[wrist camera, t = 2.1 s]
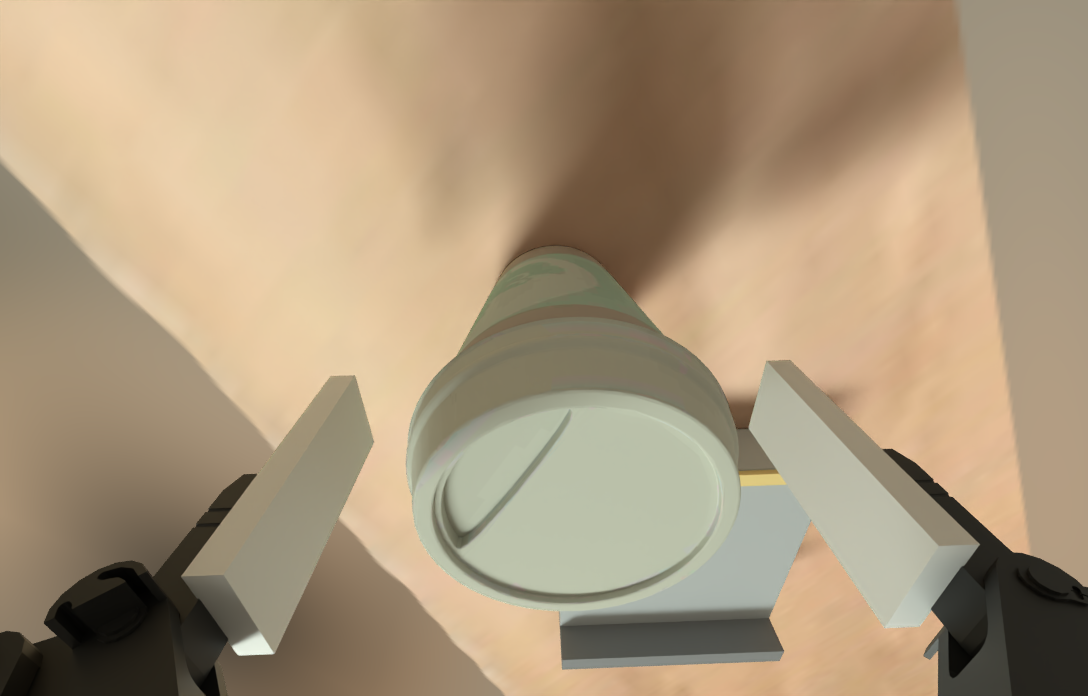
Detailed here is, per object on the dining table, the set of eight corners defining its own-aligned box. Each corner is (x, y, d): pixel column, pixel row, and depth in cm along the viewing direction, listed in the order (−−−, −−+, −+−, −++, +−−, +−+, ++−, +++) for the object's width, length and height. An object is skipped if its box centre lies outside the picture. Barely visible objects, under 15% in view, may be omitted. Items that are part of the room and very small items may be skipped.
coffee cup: (604, 176, 17) (713, 287, 7) (667, 341, 21) (797, 570, 11) (426, 265, 19) (299, 462, 9) (515, 403, 23) (501, 652, 13)
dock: (555, 435, 24) (561, 508, 20) (802, 426, 24) (860, 497, 20) (558, 592, 32) (562, 669, 27) (745, 584, 32) (779, 660, 28)
